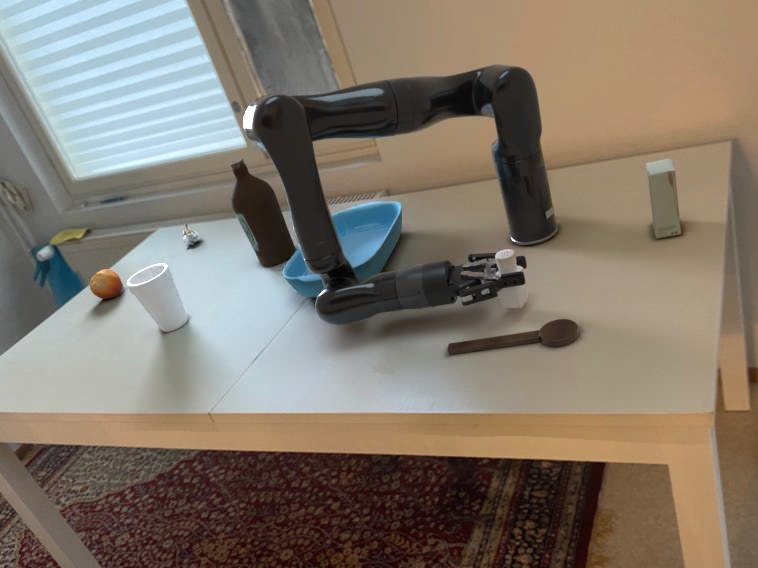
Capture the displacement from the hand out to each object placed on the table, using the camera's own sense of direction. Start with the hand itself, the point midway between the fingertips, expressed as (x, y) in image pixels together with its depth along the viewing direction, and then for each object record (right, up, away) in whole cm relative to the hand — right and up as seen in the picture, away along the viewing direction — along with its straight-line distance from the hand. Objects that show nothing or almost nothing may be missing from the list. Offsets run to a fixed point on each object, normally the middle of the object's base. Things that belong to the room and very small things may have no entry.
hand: (524, 269), depth 116 cm
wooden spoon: (-2, -12, -3) cm, 13 cm away
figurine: (-80, +19, +87) cm, 120 cm away
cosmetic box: (+28, +9, +12) cm, 31 cm away
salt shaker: (-1, -5, +4) cm, 7 cm away
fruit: (-97, +2, +71) cm, 121 cm away
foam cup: (-72, -7, +44) cm, 84 cm away
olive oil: (-51, +10, +58) cm, 78 cm away
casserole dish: (-31, +6, +41) cm, 51 cm away
